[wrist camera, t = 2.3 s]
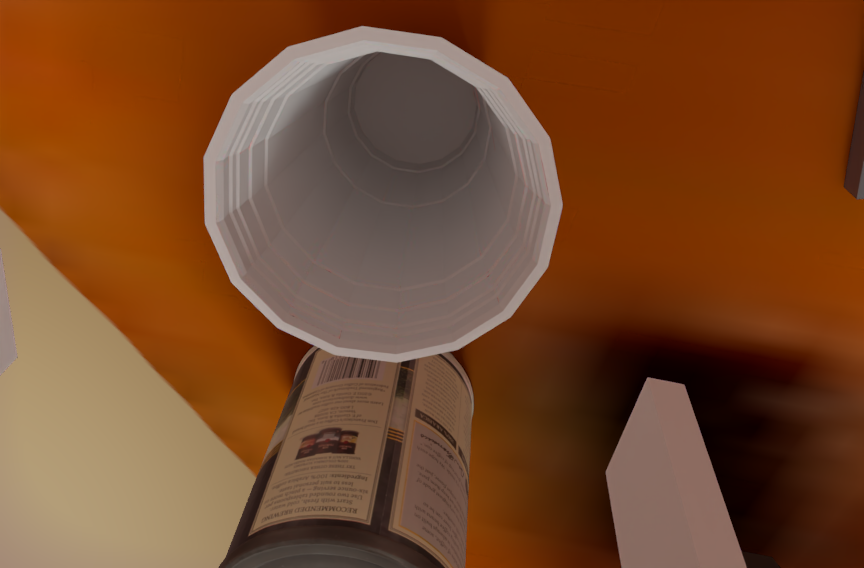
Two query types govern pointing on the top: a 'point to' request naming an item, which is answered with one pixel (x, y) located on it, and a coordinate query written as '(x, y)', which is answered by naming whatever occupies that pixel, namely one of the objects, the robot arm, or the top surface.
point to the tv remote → (857, 153)
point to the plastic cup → (381, 194)
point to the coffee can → (363, 468)
